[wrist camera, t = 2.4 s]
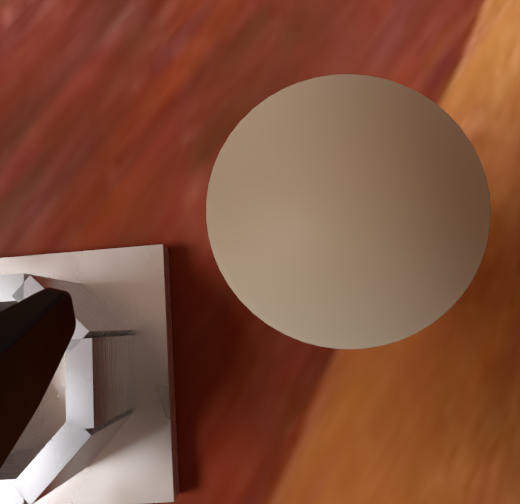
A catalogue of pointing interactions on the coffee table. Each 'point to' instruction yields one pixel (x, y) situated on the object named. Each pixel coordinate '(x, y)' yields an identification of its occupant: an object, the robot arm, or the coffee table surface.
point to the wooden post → (348, 211)
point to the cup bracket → (100, 383)
